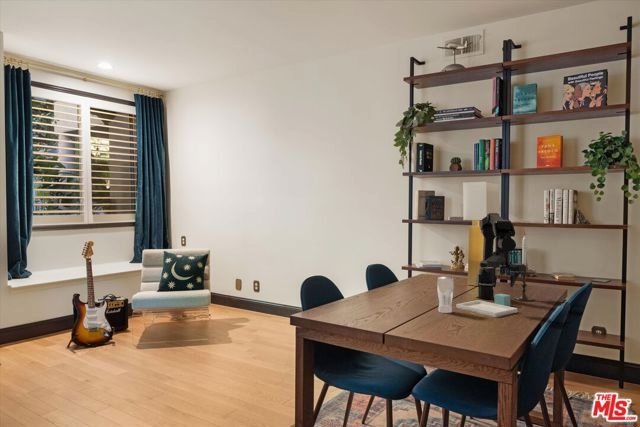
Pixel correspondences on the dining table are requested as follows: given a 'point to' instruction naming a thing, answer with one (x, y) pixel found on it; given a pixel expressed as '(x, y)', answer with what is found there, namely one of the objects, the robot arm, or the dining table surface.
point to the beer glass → (445, 294)
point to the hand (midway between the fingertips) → (501, 285)
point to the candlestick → (524, 273)
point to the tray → (487, 308)
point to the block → (502, 299)
